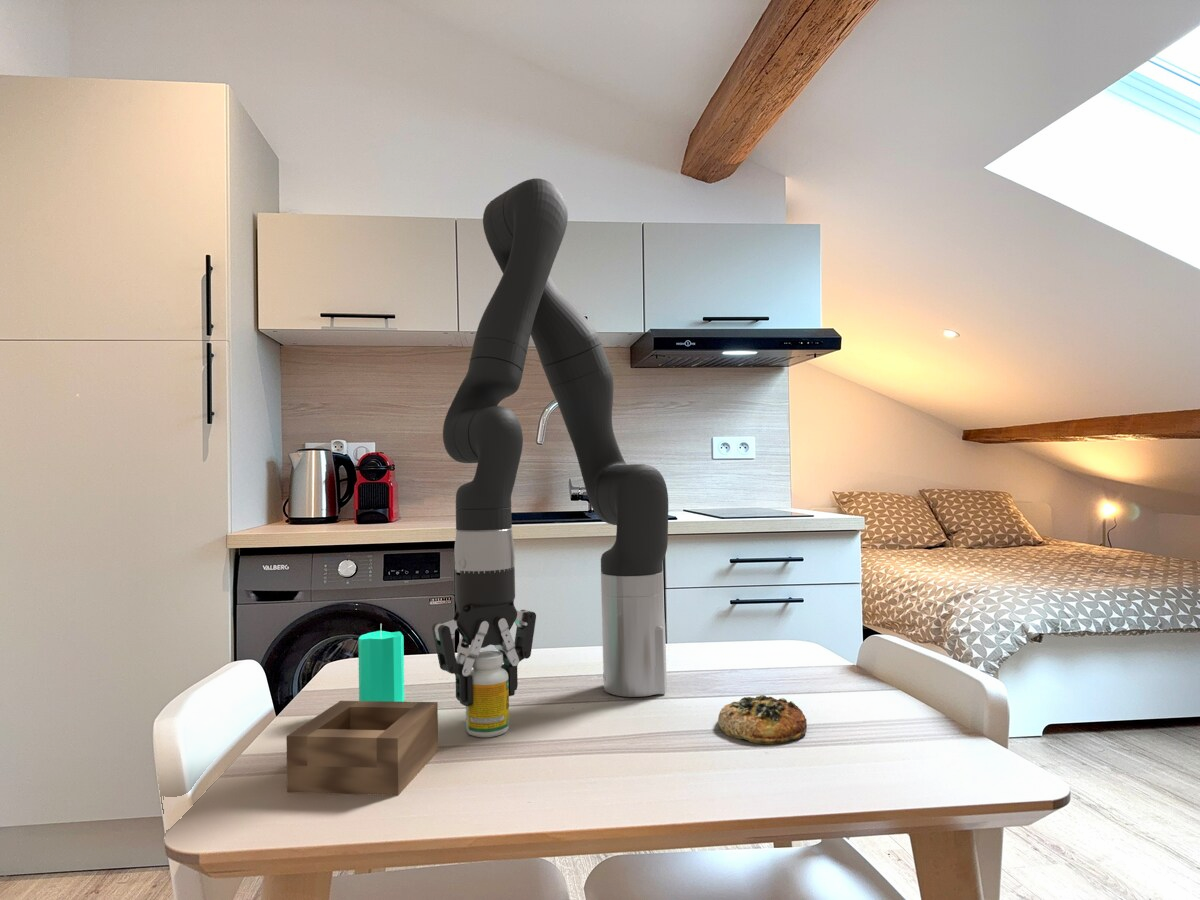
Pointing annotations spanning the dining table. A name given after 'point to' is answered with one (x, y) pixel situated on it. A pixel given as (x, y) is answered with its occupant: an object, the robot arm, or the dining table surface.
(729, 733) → the bread roll
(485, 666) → the supplement bottle
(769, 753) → the dining table surface
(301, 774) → the walnut tray
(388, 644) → the candle
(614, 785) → the dining table surface
